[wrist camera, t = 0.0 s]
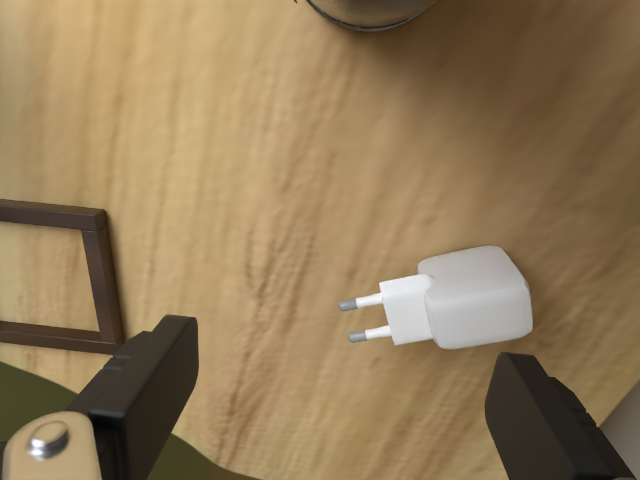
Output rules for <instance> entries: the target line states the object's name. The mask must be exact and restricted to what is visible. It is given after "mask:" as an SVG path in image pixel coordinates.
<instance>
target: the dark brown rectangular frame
mask: <svg viewBox="0 0 640 480" xmlns="http://www.w3.org/2000/svg"><path fill="white" fill-rule="evenodd" d="M0 221H3V222H13V223H23V224H33V225H43V226H53V227H62V228H72V229H82V230H81V231H82V237H83V242H84V248H85V253H86V259H87V264H88V270H89V275H90V281H91V286H92V292H93V297H94V303H95V308H96V314H97V319H98V325H99V330H100V332H94V331H85V330H76V329H67V328H58V327H49V326H40V325H31V324H22V323H13V322H4V321H0V342H3V343H12V344H20V345H29V346H38V347H47V348H56V349H65V350H73V351H82V352H91V353H100V354H109V355H114V354H115V353H116V352H117V351H118V349H119V348H120V347H121V346H122V345H123V344H124V343H125V341H124V335H123V328H122V322H121V315H120V309H119V302H118V296H117V289H116V282H115V276H114V269H113V263H112V256H111V250H110V243H109V237H108V230H107V226H106V217H105V211H104V209H94V208H84V207H74V206H64V205H54V204H44V203H34V202H24V201H14V200H4V199H0Z"/></svg>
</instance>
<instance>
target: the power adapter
mask: <svg viewBox="0 0 640 480" xmlns="http://www.w3.org/2000/svg"><path fill="white" fill-rule="evenodd" d="M416 271H417V275H413V276H408V277H403V278H398V279H393V280H388V281H383V282H379V286H380V291H381V293H377V294H372V295H370V296H365V297H360V298H352V299H347V300H342V301H340V302H339V309H340V310H341V311H348V310H353V309H358V308H361V307H366V306H371V305H379V304H384V308H385V312H386V316H387V320H388V323H389V325H387V326H382V327H380V328H374V329H369V330H361V331H355V332H351V333H349V336H348V338H349V341H350V342H352V343H355V342H360V341H366V340H369V339H374V338H380V337H388V336H392V339H393V342H394V346H395V345H401V344H407V343H412V342H418V341H424V340H429V339H433V340H434V342H435V343H436V344H437V345H438V346H439V347H441V348H444V349H449V350H450V349H459V348H466V347H472V346H478V345H484V344H490V343H496V342H502V341H507V340H512V339H517V338H521V337H524V336H525V335H527V334H528V333H530V332H531V331H532V324H533V317H532V305H531V295H530V289H529V284H528V282H527V281H526V279H525V278H524V276H523V275H522V273H521V272H520V271H519V269H518V268H517V267H516V265H515V264H514V263H513V261H512V260H511V259H510V258H509V256H508V255H507V254H506V253H505V252H504V251H503V250H502V249H501V248H500V247H498V246H491V245H487V246H481V247H475V248H470V249H465V250H461V251H456V252H451V253H446V254H442V255H438V256H433V257H430V258H426V259H424V260H422V261H421V262H419V264H418V266H417V268H416Z"/></svg>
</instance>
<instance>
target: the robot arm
mask: <svg viewBox="0 0 640 480" xmlns="http://www.w3.org/2000/svg"><path fill="white" fill-rule="evenodd" d="M294 1H295V2H296V3H297V1H296V0H294ZM307 1H308V3H309V4H310V5H311V6H312V7H313V8H314V9H315V10H316V11H317V12H319V13H320V14H321V15H322V16H324V17H325V18H327V19H328V20H330V21H331V22H333V23H335V24H337V25H339V26H342V27H345V28H348V29H352V30H357V31H368V32H373V31H382V30H387V29H391V28H394V27H397V26H400V25H402V24H404V23H406V22H408V21H410V20H412V19H414V18H415V17H417V16H418V15H420V14H421V13H423V12H424V11H425V10H426V9H428V8H429V7H430V6H431V5H433V4H434V3H436V2H437V1H439V0H307ZM198 370H199V356H198V324H197V320H196V318H195V317H186V316H177V315H165V316H164V317H163V319H162V320H161V321H160V322H159V324H158V325H157V326H156V327H155V328H154V330H153V331H152V332H148V331H142V332H141V333H139V334H137V335H136V336H134V337H132V338H131V339H129V340H127V341H126V342H125V343H124V344H123V345H122V346H121V347H120V348H119V349H118V351H117V352H116V353H115V354H114V356H113V358H110V360H109V361H108V362H107V363H106V364H105V365H104V368H103V369H101V370H100V371H99V372H98V373H97V374H96V375H95V377H94V378H93V379H92V380H91V381H90V382H89V383H88V384H87V386H86V387H85V388H84V389H83V390H82V391H81V392H80V393H79V395H78V396H77V397H76V398H75V399H74V400H73V402H72V403H71V404H70V405H69V406H68V407H67V408H66V409H65V411H64V412H56V413H52V414H48V415H45V416H43V417H40V418H38V419H36V420H34V421H32V422H30V423H28V424H27V425H25V426H24V427H23V428H21V429H20V430H19V431H17V432H16V433H15V434H14V435H13V436H12V438H11V439H10V440H9V441H5V442H0V480H147V478H148V476H149V474H150V472H151V470H152V468H153V466H154V464H155V462H156V460H157V459H158V456H159V455H160V453H161V451H162V449H163V447H164V445H165V443H166V441H167V439H168V437H169V435H170V434H171V432H172V430H173V428H174V426H175V424H176V422H177V420H178V418H179V416H180V414H181V412H182V411H183V409H184V407H185V405H186V403H187V401H188V399H189V397H190V395H191V393H192V391H193V389H194V387H195V384H196V381H197V376H198ZM485 417H486V422H487V425H488V428H489V430H490V433H491V435H492V438H493V440H494V443H495V445H496V448H497V450H498V453H499V455H500V458H501V460H502V463H503V465H504V468H505V470H506V473H507V475H508V478H509V480H637V479H636V478H635V476H634V475H633V474H632V472H631V471H630V469H629V468H628V467H627V466H626V464H625V463H624V461H623V460H622V459H621V457H620V456H619V454H618V453H617V452H616V450H615V449H614V448H613V446H612V445H611V443H610V442H609V441H608V439H607V438H606V436H605V435H604V434H603V432H602V431H601V430H600V428H599V427H596V423H595V421H594V420H593V419H592V417H591V416H590V414H589V413H586V409H585V408H584V406H583V405H582V403H581V402H580V401H579V399H578V398H577V397H576V395H575V394H574V393H573V392H572V391H571V390H570V389H568V388H567V387H566V386H565V385H564V384H562V383H561V382H560V381H559V380H557V379H556V378H555V377H549V376H548V375H547V373H546V372H545V371H544V369H543V368H542V366H541V365H540V363H539V362H538V360H537V359H536V358H535V357H534V356H533V355H528V354H519V353H510V352H501V353H500V354H499V355H498V357H497V360H496V364H495V367H494V371H493V374H492V378H491V382H490V385H489V389H488V392H487V396H486V400H485Z"/></svg>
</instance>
